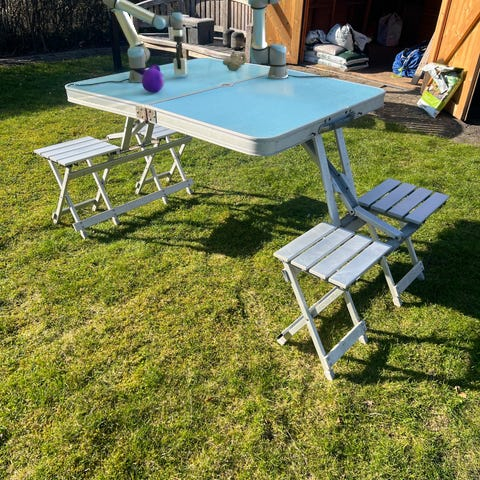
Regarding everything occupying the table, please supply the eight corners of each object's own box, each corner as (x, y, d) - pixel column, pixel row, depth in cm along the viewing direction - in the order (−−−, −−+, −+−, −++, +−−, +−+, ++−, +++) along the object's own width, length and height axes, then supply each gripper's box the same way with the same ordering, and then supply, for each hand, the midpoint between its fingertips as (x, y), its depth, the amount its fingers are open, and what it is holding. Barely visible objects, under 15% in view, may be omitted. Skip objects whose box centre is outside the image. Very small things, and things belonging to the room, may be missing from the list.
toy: (156, 85, 322) (164, 98, 301) (131, 81, 314) (137, 93, 294) (160, 63, 314) (168, 74, 293) (135, 58, 306) (141, 69, 286)
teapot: (226, 73, 360) (225, 53, 353) (219, 71, 369) (219, 51, 361) (249, 70, 370) (249, 50, 362) (242, 68, 378) (241, 49, 371)
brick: (185, 74, 344) (184, 59, 339) (174, 74, 345) (173, 59, 339) (187, 72, 352) (186, 58, 346) (176, 72, 352) (175, 58, 347)
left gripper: (180, 37, 325) (183, 70, 337) (185, 34, 344) (187, 65, 355) (170, 37, 326) (173, 70, 337) (175, 34, 344) (177, 65, 355)
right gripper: (268, -1, 335) (267, 30, 346) (268, -2, 356) (267, 27, 367) (257, -1, 335) (257, 31, 346) (258, -2, 357) (258, 27, 368)
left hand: (180, 67), depth 346 cm, fingers closed on brick, 8 cm apart
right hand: (262, 29), depth 357 cm, fingers open, 13 cm apart
